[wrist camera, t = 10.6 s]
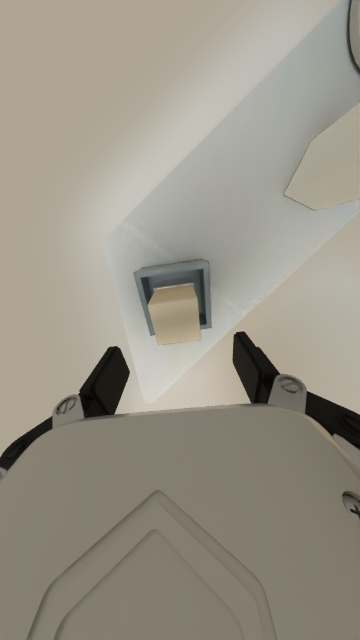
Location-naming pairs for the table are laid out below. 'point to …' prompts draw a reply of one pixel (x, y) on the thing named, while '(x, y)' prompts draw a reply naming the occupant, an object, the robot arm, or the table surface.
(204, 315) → the tote
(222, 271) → the table surface
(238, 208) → the table surface
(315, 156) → the milk
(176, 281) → the block
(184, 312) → the beige cube
